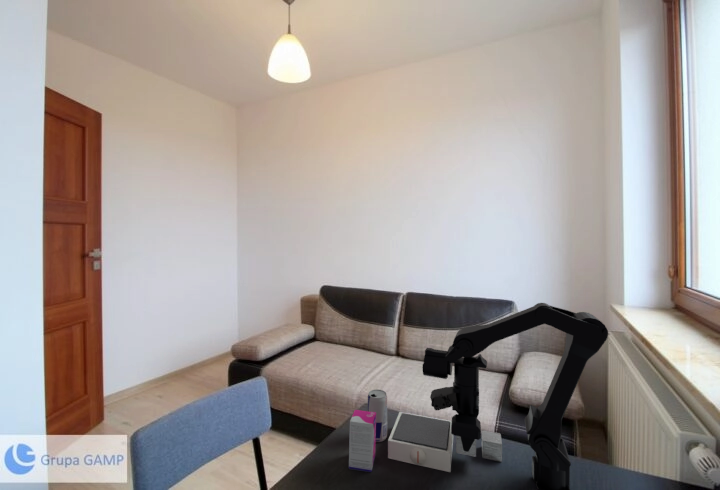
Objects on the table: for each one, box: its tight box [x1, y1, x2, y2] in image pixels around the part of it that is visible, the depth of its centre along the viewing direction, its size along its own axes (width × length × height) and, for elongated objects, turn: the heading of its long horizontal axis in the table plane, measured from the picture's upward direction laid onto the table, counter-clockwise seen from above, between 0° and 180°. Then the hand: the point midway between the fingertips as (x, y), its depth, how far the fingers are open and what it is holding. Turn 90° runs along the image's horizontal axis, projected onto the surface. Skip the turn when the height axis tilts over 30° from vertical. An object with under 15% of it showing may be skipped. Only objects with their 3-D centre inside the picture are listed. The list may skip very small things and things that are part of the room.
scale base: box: [387, 411, 454, 473], centre depth 84 cm, size 15×14×4 cm
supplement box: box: [348, 409, 377, 473], centre depth 78 cm, size 6×6×12 cm
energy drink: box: [367, 389, 388, 443], centre depth 88 cm, size 5×5×12 cm
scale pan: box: [393, 412, 449, 451], centre depth 84 cm, size 13×12×1 cm
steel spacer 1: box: [455, 436, 477, 458], centre depth 78 cm, size 4×4×4 cm
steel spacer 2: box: [481, 429, 503, 463], centre depth 81 cm, size 4×4×4 cm
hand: (466, 444), depth 78 cm, fingers closed on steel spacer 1, 4 cm apart
